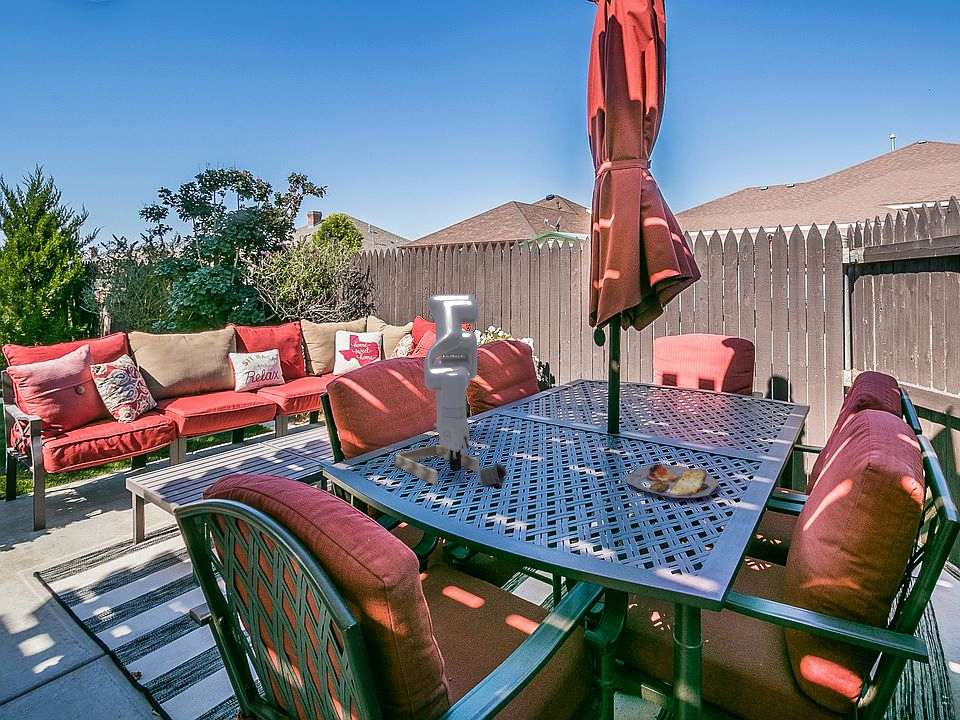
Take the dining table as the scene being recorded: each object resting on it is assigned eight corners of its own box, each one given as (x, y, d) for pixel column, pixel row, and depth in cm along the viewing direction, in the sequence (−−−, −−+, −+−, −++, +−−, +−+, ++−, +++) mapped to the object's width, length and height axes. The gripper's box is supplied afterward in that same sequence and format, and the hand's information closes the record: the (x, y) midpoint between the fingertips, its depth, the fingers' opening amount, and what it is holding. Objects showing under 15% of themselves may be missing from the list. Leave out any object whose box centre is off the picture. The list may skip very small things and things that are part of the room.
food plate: (648, 465, 163) (648, 454, 162) (726, 481, 148) (727, 470, 147) (614, 491, 143) (614, 479, 143) (701, 513, 129) (701, 499, 128)
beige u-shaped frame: (394, 466, 167) (394, 454, 167) (437, 455, 178) (436, 444, 178) (435, 484, 150) (434, 471, 149) (479, 471, 161) (478, 459, 160)
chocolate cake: (485, 474, 160) (471, 456, 151) (507, 469, 158) (494, 451, 149) (488, 503, 153) (473, 486, 145) (510, 497, 152) (497, 480, 143)
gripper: (429, 409, 157) (431, 466, 159) (459, 418, 146) (460, 479, 148) (449, 405, 162) (450, 461, 164) (479, 413, 150) (480, 473, 153)
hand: (455, 469), depth 156 cm, fingers closed
